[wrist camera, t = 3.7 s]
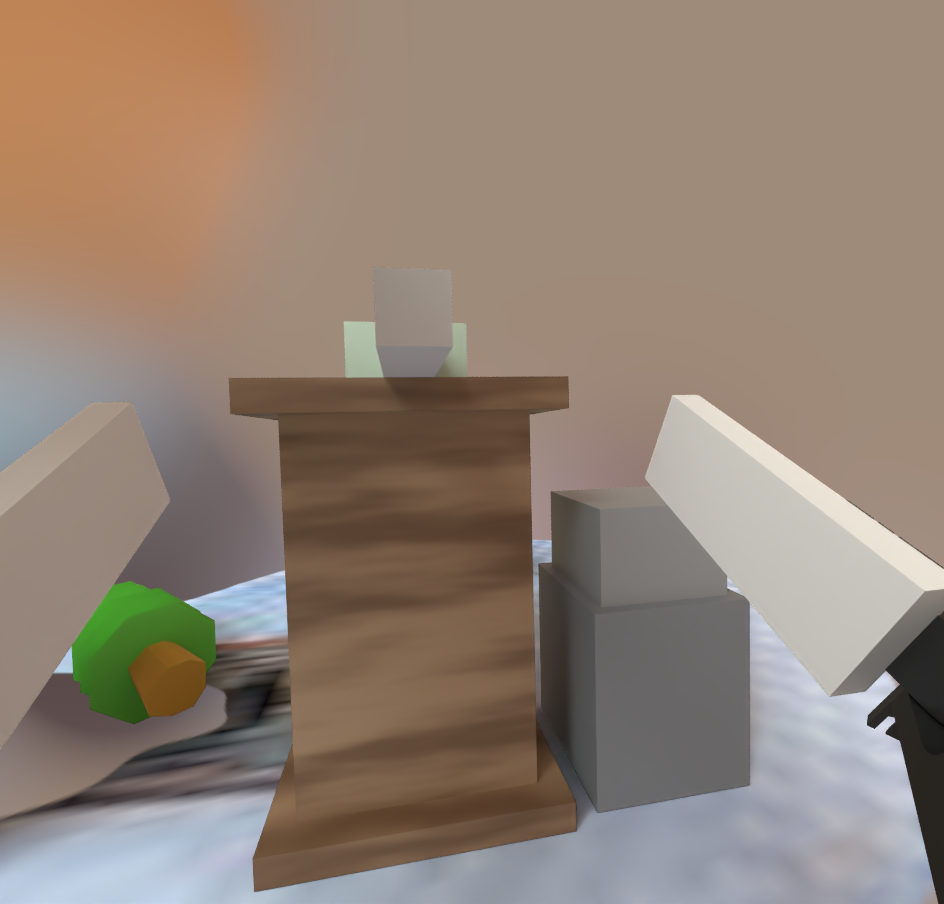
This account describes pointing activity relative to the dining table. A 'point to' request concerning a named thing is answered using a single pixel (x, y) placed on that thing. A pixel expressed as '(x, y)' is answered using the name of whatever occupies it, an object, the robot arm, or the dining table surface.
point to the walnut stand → (407, 622)
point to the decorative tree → (143, 654)
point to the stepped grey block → (642, 652)
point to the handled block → (408, 328)
